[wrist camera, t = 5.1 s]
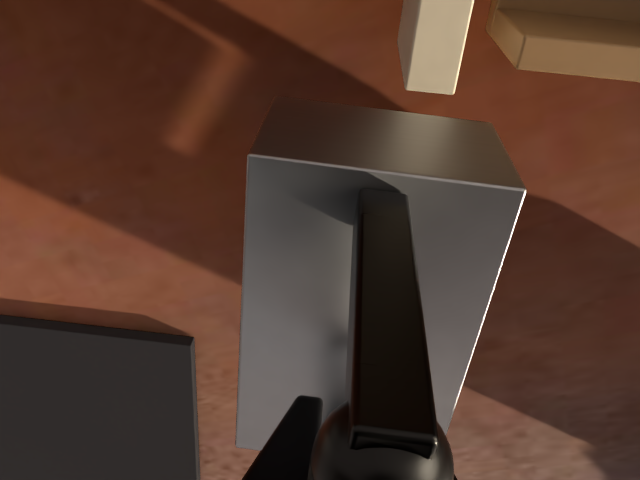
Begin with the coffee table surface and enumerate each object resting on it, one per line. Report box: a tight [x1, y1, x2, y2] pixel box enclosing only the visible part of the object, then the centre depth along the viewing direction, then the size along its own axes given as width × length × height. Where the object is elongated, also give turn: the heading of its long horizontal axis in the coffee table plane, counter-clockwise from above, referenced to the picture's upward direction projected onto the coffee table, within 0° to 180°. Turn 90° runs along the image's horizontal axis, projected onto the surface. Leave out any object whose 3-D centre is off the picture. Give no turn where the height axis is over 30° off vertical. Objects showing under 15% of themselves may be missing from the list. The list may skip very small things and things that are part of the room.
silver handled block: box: [235, 96, 526, 480], centre depth 10 cm, size 7×4×8 cm, turn 174°
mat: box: [0, 315, 200, 480], centre depth 29 cm, size 12×12×1 cm
